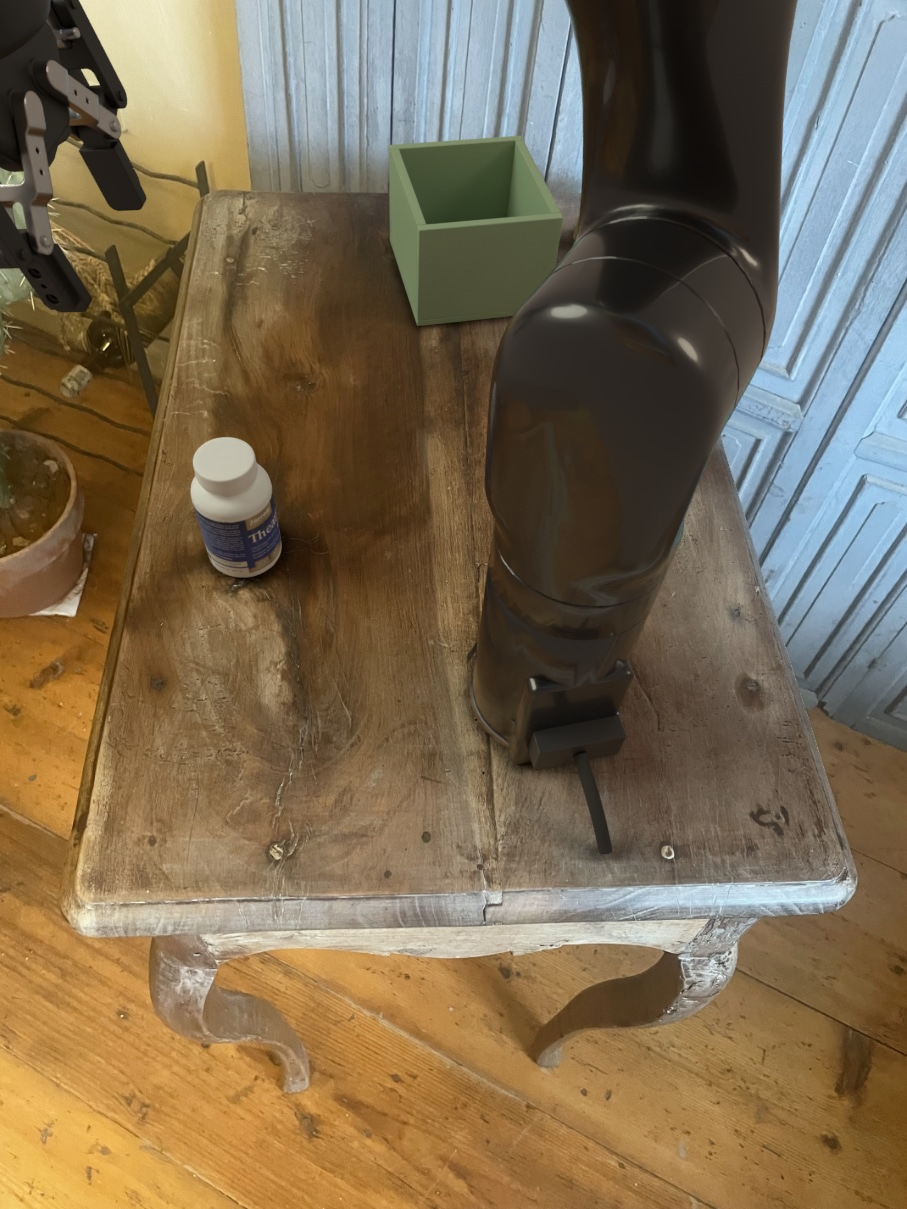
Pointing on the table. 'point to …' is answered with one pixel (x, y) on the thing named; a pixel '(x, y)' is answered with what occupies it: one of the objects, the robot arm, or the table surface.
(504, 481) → the robot arm
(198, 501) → the pill bottle
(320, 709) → the table surface
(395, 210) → the bin
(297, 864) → the table surface
